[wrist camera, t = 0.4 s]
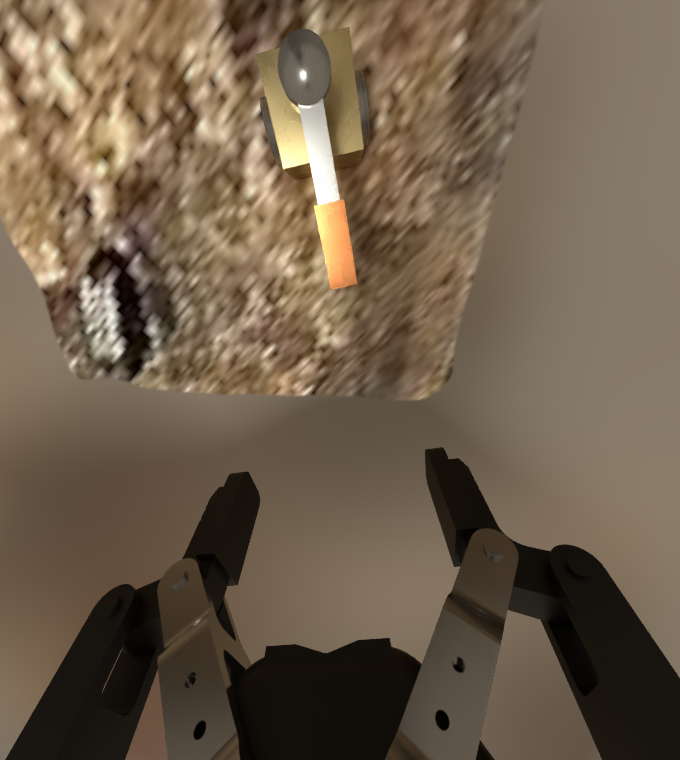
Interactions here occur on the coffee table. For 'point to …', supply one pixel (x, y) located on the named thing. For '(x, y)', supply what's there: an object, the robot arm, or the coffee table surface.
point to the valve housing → (342, 111)
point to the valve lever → (318, 144)
